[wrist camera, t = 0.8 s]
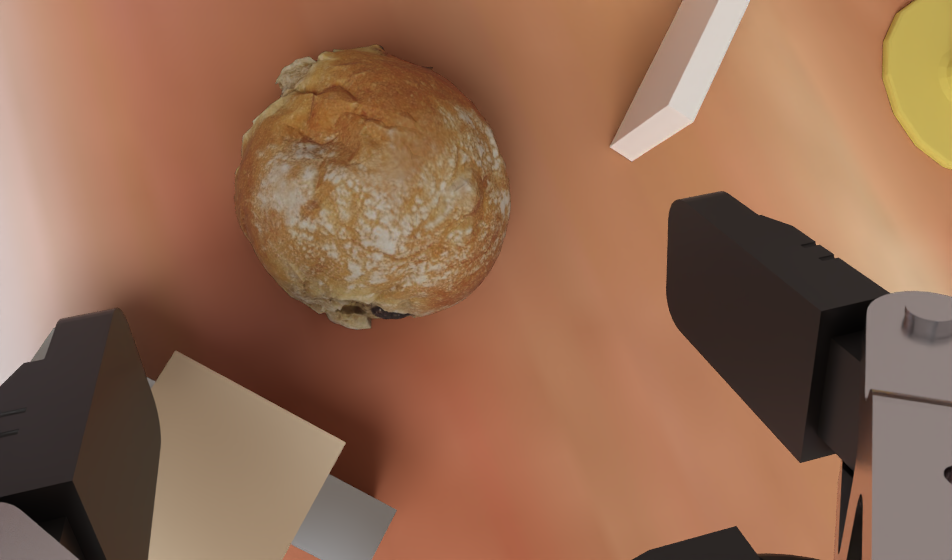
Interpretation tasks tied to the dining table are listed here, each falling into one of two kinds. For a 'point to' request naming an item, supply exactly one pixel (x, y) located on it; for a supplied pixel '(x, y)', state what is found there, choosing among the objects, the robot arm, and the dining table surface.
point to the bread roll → (372, 188)
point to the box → (679, 74)
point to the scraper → (248, 477)
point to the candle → (922, 75)
